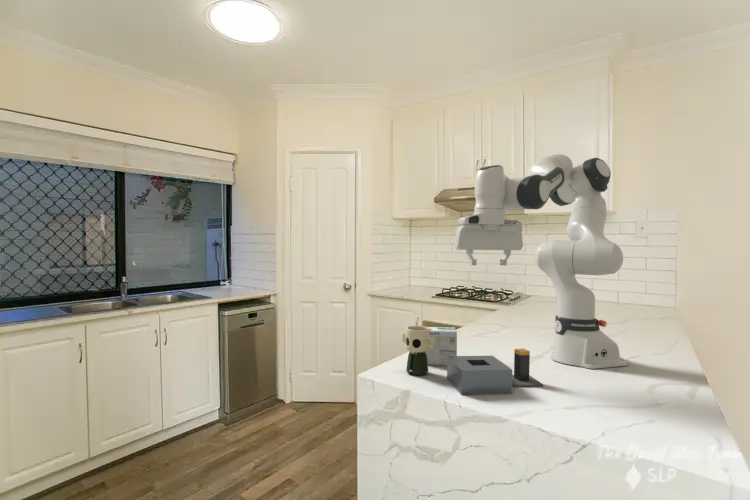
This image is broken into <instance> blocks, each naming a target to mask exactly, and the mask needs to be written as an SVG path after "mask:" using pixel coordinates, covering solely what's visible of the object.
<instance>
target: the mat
mask: <svg viewBox="0 0 750 500" xmlns="http://www.w3.org/2000/svg"><path fill="white" fill-rule="evenodd" d="M531 387H532V388H534V387H537V388H539V387H540V388H541V387H544V383H542V382H540V381H539V380H537V379H536V378H534V377H533V376H531V375H530V374H529V381H519V380H517V379H515V378H514V374H512V388H531Z"/></svg>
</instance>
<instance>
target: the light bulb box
mask: <svg viewBox="0 0 750 500" xmlns="http://www.w3.org/2000/svg"><path fill="white" fill-rule="evenodd" d="M428 327H429V328H430V336H431V337H433V338H434V348H433V349H431V348H430V349H429V351H427V352H425V353H426V355H427V363H428V366H445V367H447V356H458V333H457V332H458V331H457V329H456V327H449V326H447V327H446V326H445V327H444V326H441V327H440V326H428ZM430 345H431V340H430Z"/></svg>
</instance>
